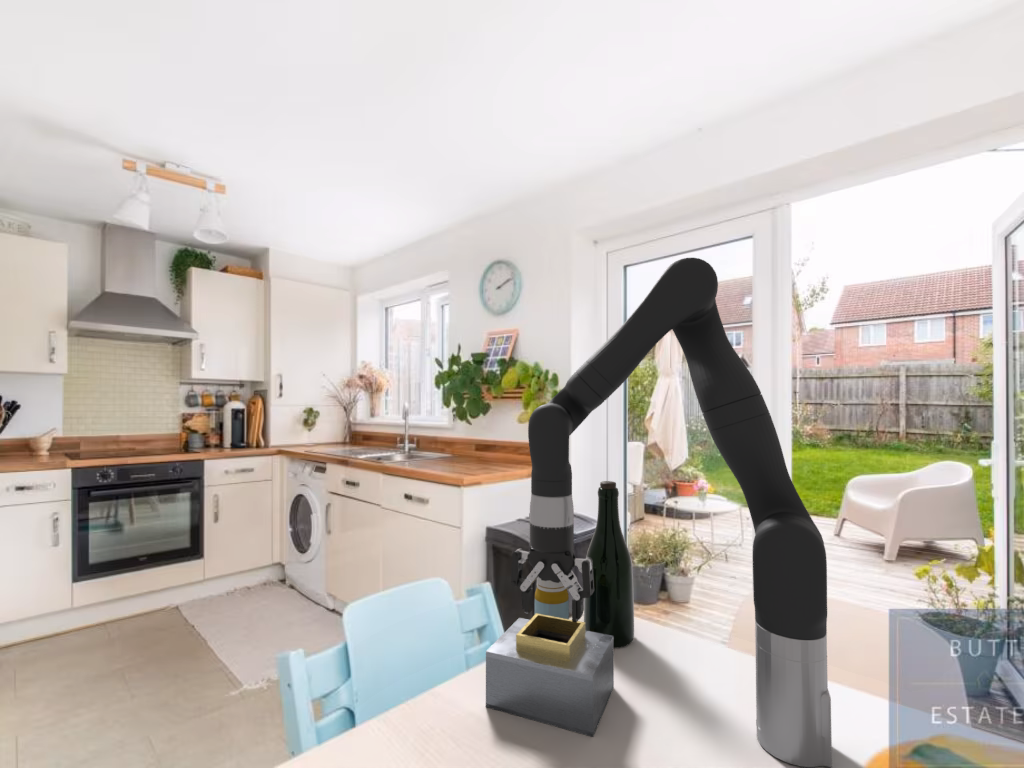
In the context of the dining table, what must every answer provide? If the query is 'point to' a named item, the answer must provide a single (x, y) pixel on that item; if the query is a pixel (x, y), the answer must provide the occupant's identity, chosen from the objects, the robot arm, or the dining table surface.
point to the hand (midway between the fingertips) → (551, 615)
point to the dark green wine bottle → (610, 574)
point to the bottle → (551, 599)
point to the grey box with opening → (551, 673)
